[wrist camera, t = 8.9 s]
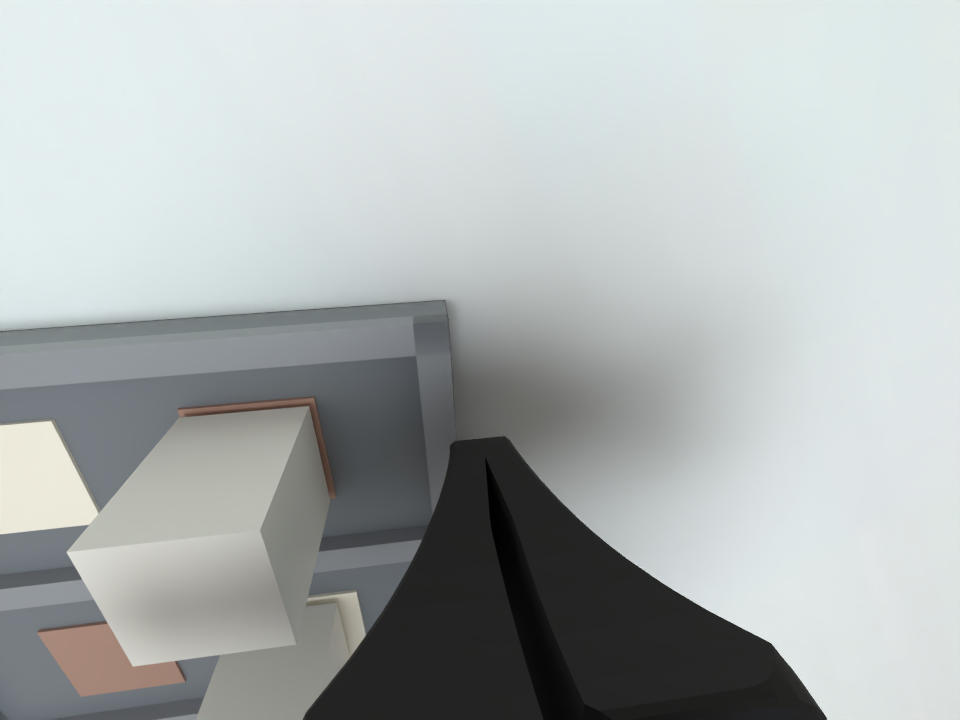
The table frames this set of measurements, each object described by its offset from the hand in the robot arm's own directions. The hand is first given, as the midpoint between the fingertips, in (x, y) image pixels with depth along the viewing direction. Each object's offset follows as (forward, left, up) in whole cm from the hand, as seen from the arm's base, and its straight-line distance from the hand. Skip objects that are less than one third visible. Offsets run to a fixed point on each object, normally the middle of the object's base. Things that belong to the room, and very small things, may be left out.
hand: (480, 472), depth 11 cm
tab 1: (0, +5, -1) cm, 6 cm away
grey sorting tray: (-3, +8, -3) cm, 10 cm away
